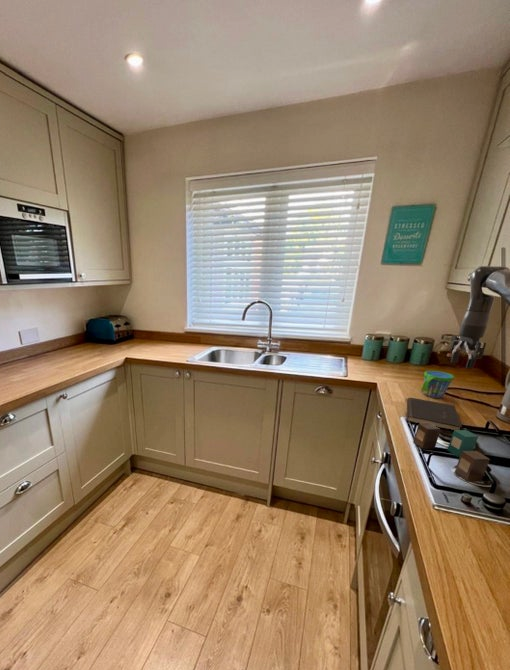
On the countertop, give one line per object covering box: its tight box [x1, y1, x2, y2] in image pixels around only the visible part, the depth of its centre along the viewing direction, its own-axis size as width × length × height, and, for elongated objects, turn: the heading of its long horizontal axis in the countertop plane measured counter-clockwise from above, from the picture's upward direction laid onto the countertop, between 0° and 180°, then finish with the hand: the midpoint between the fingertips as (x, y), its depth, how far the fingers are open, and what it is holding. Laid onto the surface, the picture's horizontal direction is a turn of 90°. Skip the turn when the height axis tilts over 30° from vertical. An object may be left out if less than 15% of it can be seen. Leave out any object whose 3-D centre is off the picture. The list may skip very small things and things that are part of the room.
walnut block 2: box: [454, 450, 491, 483], centre depth 85 cm, size 4×4×8 cm
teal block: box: [446, 429, 479, 458], centre depth 96 cm, size 4×4×8 cm
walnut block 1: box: [412, 423, 442, 450], centre depth 100 cm, size 4×4×8 cm
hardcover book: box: [406, 397, 463, 430], centre depth 125 cm, size 16×23×2 cm
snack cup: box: [421, 370, 455, 399], centre depth 145 cm, size 16×10×10 cm
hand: (460, 365), depth 129 cm, fingers open, 8 cm apart
